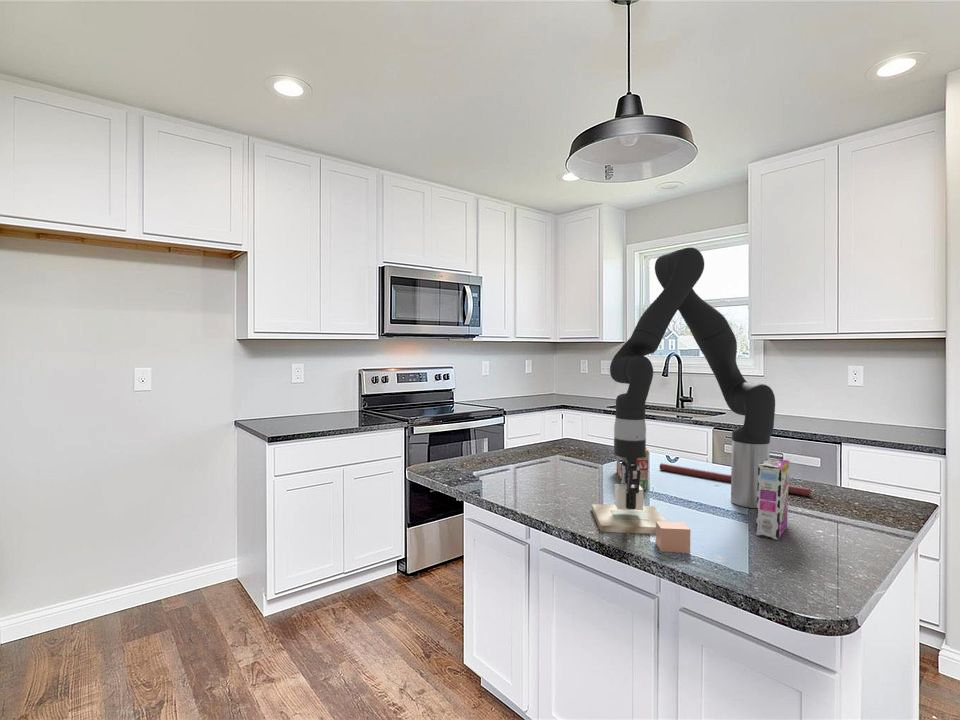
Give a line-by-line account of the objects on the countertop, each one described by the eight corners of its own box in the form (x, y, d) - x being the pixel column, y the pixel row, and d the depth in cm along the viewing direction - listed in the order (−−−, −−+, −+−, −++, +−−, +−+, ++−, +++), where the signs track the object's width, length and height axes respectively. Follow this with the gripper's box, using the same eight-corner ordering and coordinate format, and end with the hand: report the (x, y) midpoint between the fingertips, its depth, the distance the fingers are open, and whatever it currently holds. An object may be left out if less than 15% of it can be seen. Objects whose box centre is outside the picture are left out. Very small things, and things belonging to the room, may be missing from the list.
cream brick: (638, 504, 129) (639, 484, 129) (642, 510, 124) (643, 489, 124) (614, 503, 129) (614, 483, 129) (617, 509, 125) (617, 488, 125)
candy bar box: (780, 541, 114) (781, 468, 114) (755, 536, 117) (756, 464, 117) (788, 527, 123) (790, 459, 122) (765, 523, 126) (766, 456, 126)
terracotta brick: (683, 544, 112) (684, 522, 112) (690, 553, 108) (690, 529, 108) (655, 543, 113) (655, 521, 113) (660, 551, 109) (660, 528, 108)
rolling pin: (811, 496, 150) (811, 486, 150) (808, 499, 147) (809, 488, 147) (662, 470, 181) (662, 461, 181) (658, 471, 179) (658, 462, 179)
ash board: (654, 511, 134) (654, 505, 134) (671, 534, 118) (671, 527, 118) (591, 509, 136) (592, 503, 136) (600, 531, 120) (600, 524, 120)
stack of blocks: (616, 472, 177) (616, 436, 176) (634, 472, 176) (635, 437, 176) (626, 489, 155) (627, 449, 155) (648, 490, 155) (648, 449, 154)
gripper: (652, 442, 119) (651, 515, 119) (639, 432, 133) (638, 497, 134) (619, 441, 120) (618, 514, 120) (609, 431, 134) (608, 496, 134)
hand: (628, 505), depth 127 cm, fingers closed on cream brick, 4 cm apart
